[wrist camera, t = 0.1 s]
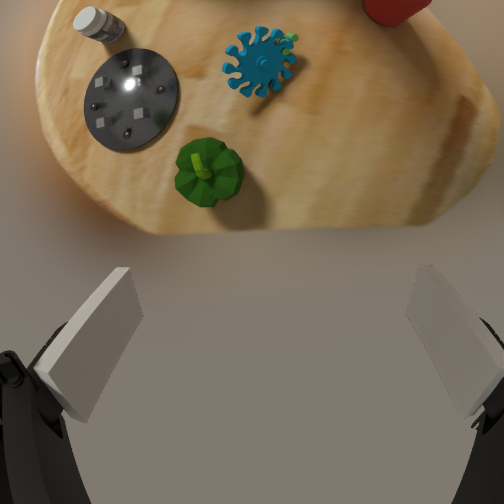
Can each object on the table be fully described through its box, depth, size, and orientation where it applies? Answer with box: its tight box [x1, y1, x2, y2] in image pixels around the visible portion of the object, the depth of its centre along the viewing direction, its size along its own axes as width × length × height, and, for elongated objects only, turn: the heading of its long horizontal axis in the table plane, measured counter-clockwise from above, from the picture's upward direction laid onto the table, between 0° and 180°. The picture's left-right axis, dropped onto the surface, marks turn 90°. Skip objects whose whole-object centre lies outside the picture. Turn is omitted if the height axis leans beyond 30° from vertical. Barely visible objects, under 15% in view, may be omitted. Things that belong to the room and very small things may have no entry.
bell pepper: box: [175, 137, 244, 207], centre depth 32 cm, size 8×8×10 cm
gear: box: [222, 26, 299, 97], centre depth 28 cm, size 11×6×10 cm
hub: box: [84, 49, 178, 150], centre depth 31 cm, size 16×16×3 cm
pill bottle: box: [73, 7, 125, 43], centre depth 23 cm, size 5×5×8 cm
